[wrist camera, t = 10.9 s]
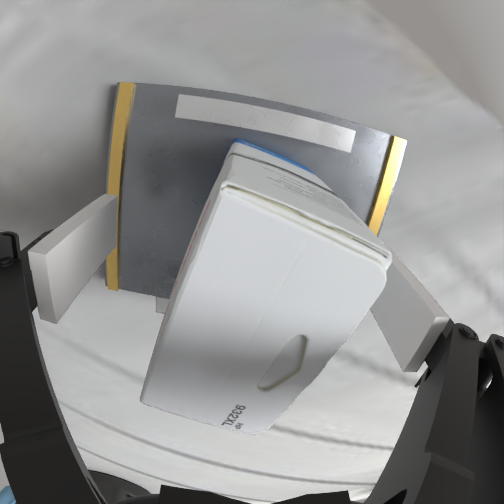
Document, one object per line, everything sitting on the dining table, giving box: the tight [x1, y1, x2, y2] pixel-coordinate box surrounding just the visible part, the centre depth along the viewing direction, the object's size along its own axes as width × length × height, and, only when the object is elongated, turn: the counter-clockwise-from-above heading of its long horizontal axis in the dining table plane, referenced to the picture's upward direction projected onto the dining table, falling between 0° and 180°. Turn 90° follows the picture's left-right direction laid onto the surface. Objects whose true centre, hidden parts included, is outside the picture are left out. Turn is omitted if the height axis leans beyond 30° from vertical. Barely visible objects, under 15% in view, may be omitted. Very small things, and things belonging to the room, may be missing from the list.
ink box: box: [140, 138, 392, 435], centre depth 13 cm, size 8×5×12 cm, turn 156°
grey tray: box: [105, 82, 407, 314], centre depth 18 cm, size 18×14×4 cm
